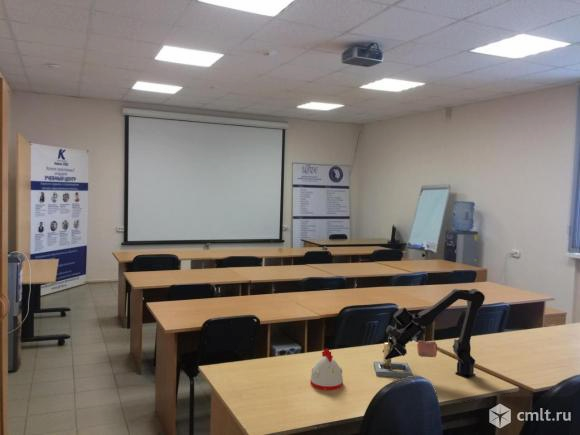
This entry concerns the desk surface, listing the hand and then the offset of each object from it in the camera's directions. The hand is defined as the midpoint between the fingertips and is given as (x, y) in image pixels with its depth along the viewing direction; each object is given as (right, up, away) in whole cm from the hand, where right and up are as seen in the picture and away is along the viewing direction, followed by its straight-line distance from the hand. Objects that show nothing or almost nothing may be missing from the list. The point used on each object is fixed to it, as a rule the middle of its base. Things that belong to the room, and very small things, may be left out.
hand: (384, 355), depth 210 cm
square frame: (+4, -7, 0) cm, 8 cm away
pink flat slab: (+30, -7, +33) cm, 45 cm away
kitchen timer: (-28, -8, -15) cm, 33 cm away
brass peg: (+1, -7, 0) cm, 7 cm away
